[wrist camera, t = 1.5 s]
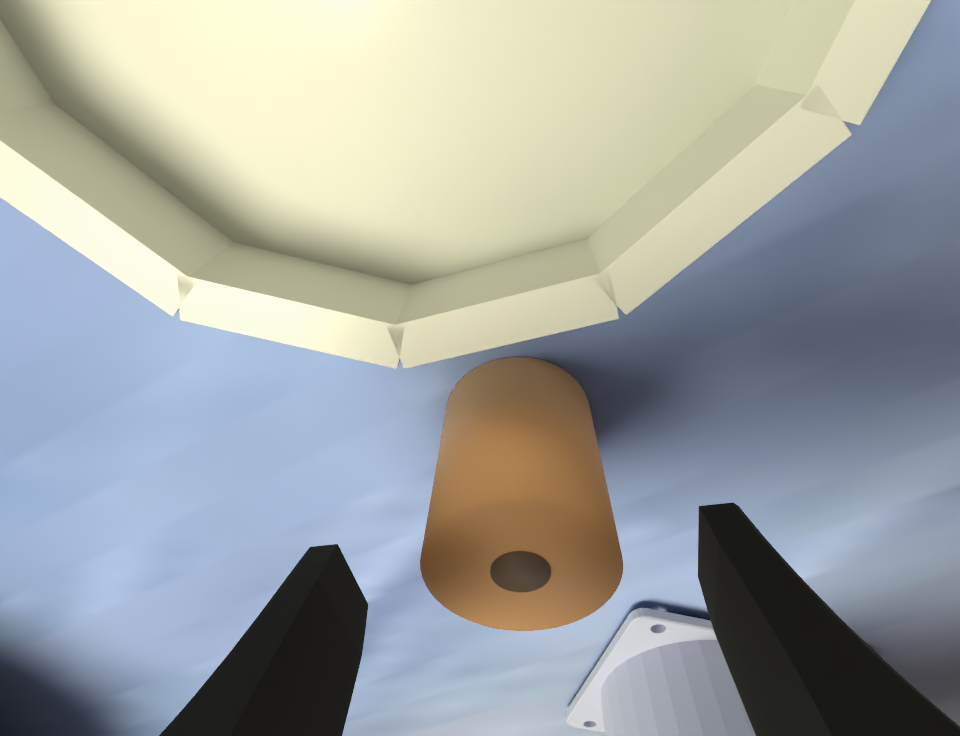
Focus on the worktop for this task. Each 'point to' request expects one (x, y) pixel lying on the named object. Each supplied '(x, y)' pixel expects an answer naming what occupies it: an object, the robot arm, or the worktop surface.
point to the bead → (520, 502)
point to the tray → (420, 151)
